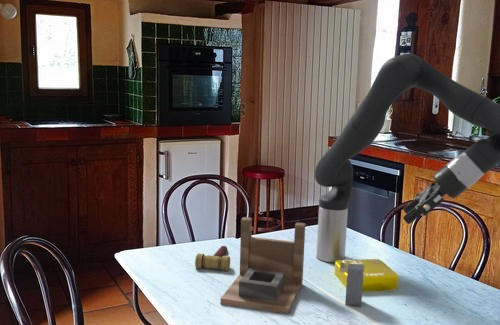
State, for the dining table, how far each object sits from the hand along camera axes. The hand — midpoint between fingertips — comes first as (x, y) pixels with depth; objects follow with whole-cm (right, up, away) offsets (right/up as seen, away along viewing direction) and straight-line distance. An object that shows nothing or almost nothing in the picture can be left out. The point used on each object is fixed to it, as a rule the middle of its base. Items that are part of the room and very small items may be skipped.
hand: (405, 216), depth 133 cm
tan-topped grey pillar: (-12, -24, +7) cm, 27 cm away
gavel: (-49, -18, +37) cm, 64 cm away
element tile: (-5, -22, +23) cm, 32 cm away
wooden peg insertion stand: (-35, -22, +11) cm, 43 cm away
